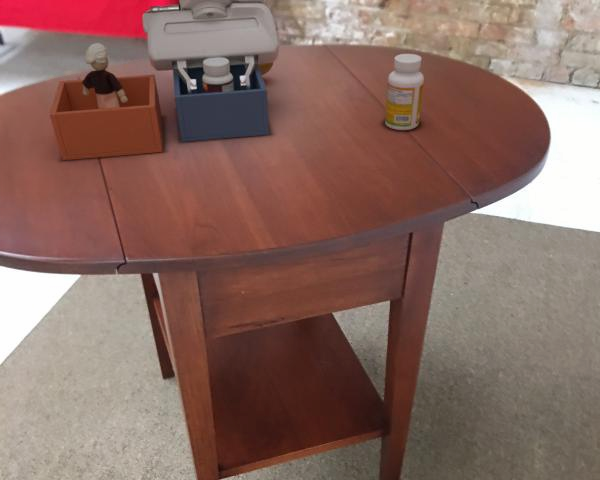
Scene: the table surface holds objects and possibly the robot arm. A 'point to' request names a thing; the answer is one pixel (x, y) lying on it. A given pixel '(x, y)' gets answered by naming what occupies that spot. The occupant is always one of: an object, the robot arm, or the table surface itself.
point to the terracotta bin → (107, 120)
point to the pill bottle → (217, 75)
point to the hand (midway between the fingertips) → (219, 91)
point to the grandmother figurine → (102, 79)
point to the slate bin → (221, 108)
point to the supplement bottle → (404, 93)
